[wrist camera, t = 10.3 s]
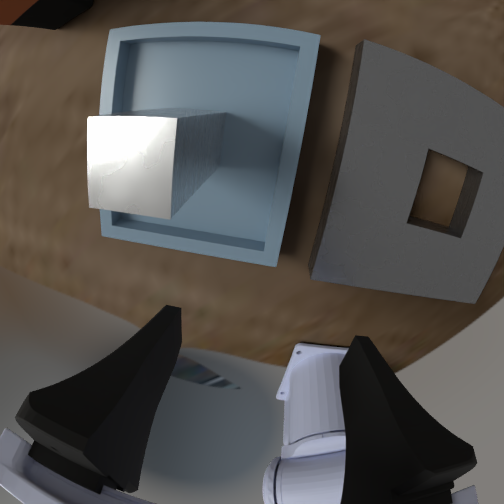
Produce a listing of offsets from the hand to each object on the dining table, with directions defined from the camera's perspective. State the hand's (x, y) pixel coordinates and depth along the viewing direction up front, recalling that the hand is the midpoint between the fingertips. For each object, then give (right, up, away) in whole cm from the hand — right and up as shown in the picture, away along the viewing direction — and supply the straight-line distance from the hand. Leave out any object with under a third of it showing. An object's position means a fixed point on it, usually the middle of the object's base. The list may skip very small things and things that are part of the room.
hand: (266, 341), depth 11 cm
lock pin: (-4, +11, +6) cm, 13 cm away
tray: (-4, +11, +6) cm, 13 cm away
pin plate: (+13, +8, +6) cm, 16 cm away
